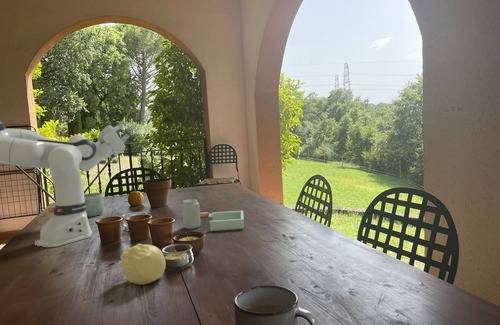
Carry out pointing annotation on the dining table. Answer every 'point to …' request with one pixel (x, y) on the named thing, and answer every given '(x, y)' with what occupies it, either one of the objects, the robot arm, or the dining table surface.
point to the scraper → (205, 214)
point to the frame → (227, 220)
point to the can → (191, 214)
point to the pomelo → (143, 264)
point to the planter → (94, 204)
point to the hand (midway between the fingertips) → (125, 130)
